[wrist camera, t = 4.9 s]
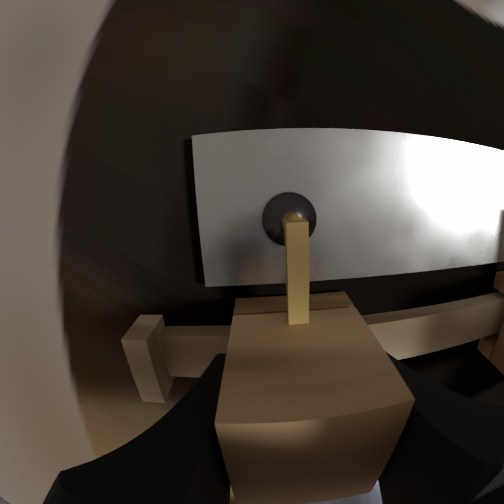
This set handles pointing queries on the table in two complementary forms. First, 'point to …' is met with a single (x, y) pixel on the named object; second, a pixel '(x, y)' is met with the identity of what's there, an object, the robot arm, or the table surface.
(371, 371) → the brown block with peg
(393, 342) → the rail
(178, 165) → the table surface
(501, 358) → the fixed leg
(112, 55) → the table surface
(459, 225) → the bolt plate
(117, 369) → the table surface
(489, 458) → the robot arm
